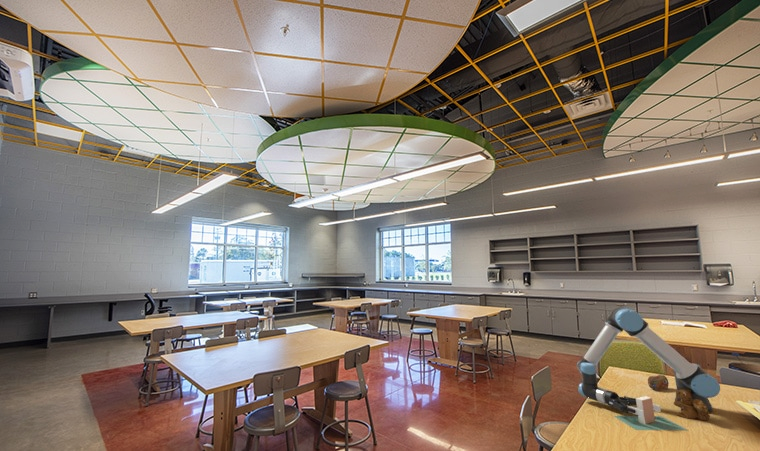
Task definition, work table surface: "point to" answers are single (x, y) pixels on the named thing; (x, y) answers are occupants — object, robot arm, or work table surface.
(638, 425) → the mat
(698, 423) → the work table surface
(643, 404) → the card box
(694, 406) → the stuffed squirrel
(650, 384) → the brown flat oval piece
